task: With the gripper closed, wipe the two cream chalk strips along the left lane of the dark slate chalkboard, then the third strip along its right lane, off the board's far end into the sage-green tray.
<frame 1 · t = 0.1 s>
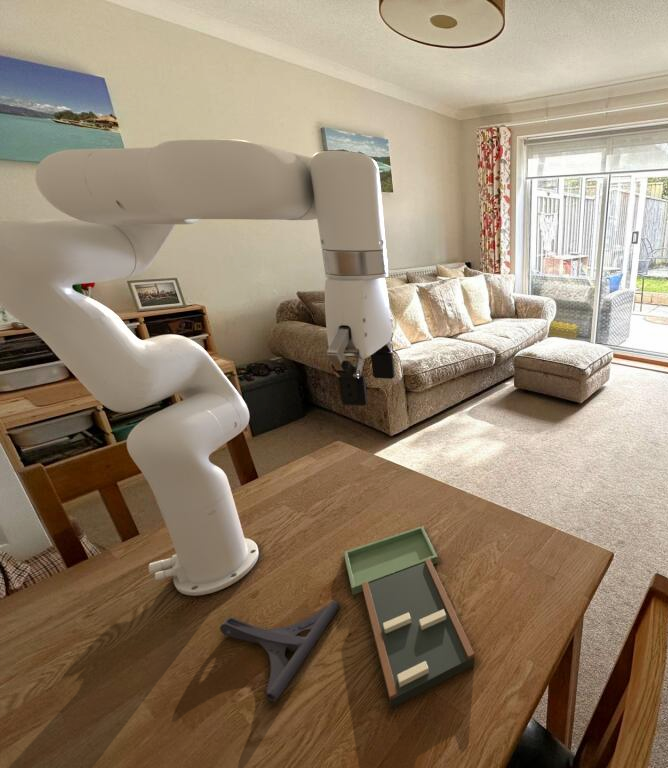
hand: (370, 389, 57), 37 cm above the table, tool pointing down, fingers open, 9 cm apart
chalk a: (413, 676, 55), point 2 cm above the table, touching chalkboard
bracket: (269, 641, 61), on the table
chalkboard: (414, 626, 64), on the table
tray: (391, 560, 76), on the table
chalk c: (432, 621, 63), point 2 cm above the table, touching chalkboard
chalk b: (397, 625, 62), point 2 cm above the table, touching chalkboard
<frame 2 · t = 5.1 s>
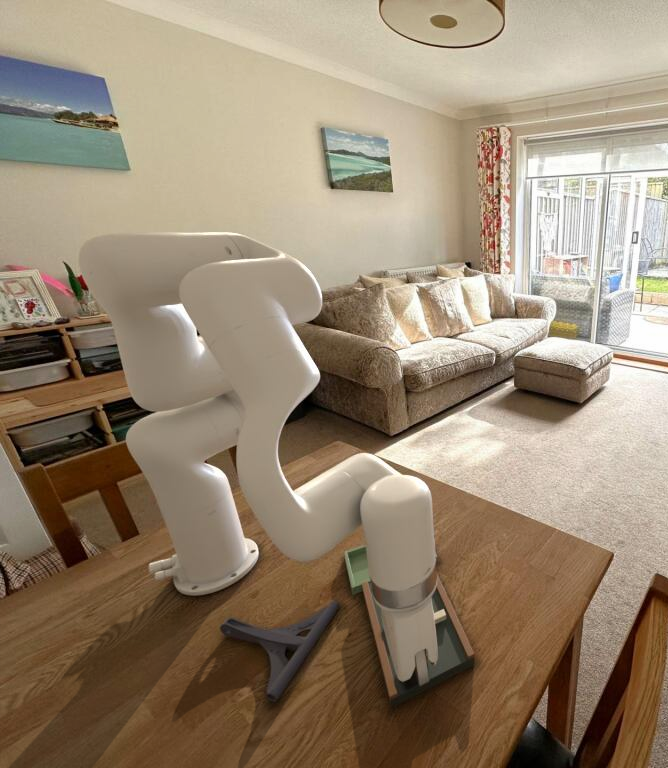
hand: (415, 677, 54), 2 cm above the table, tool pointing down, fingers closed
chalk a: (412, 668, 56), point 2 cm above the table, touching gripper
everything else where it was.
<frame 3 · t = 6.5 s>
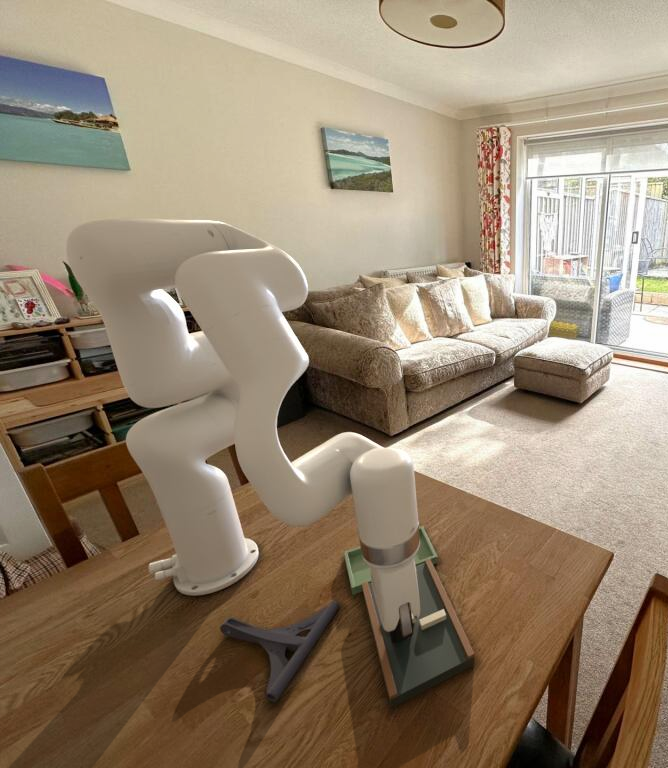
hand: (401, 634, 60), 2 cm above the table, tool pointing down, fingers closed
chalk a: (401, 624, 62), point 2 cm above the table, touching chalk b, chalkboard, gripper
chalk b: (395, 619, 63), point 2 cm above the table, touching chalk a
everything else where it was.
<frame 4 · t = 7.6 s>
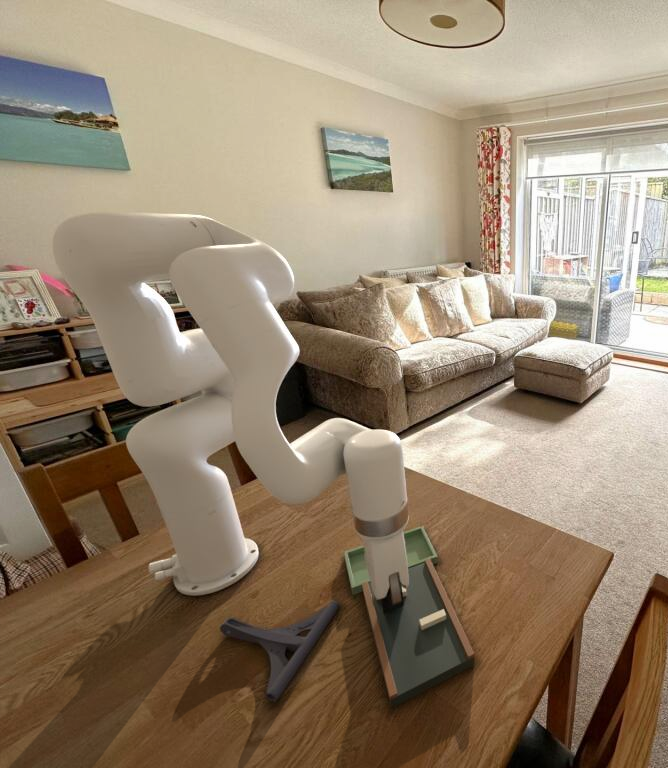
hand: (392, 605, 65), 2 cm above the table, tool pointing down, fingers closed
chalk a: (393, 597, 66), point 2 cm above the table, touching chalk b, chalkboard, gripper
chalk b: (388, 593, 67), point 2 cm above the table, touching chalk a, chalkboard
everything else where it was.
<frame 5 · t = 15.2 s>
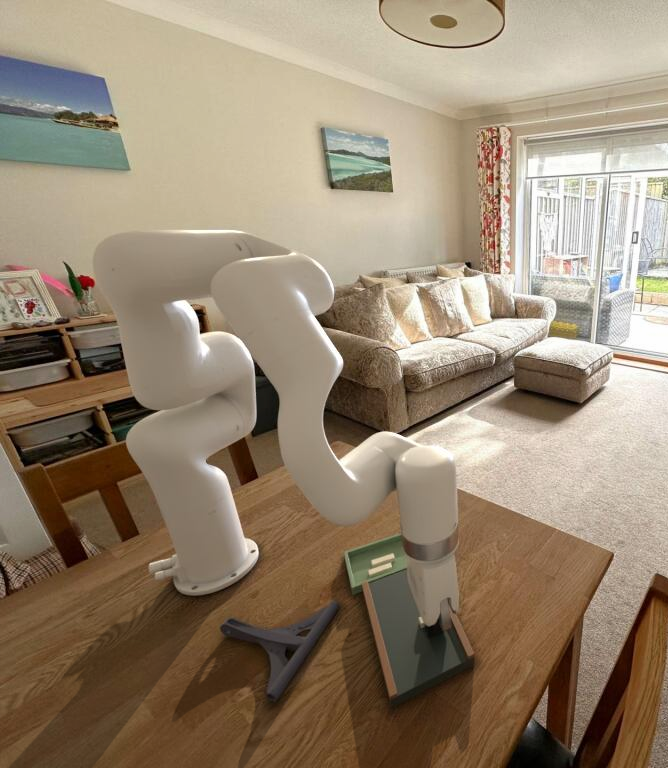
hand: (436, 629, 61), 2 cm above the table, tool pointing down, fingers closed
chalk a: (382, 558, 74), point 1 cm above the table, tilted 180°, touching tray
chalk c: (432, 619, 63), point 2 cm above the table, touching gripper
chalk b: (380, 568, 72), point 1 cm above the table, tilted 180°, touching tray
everything else where it was.
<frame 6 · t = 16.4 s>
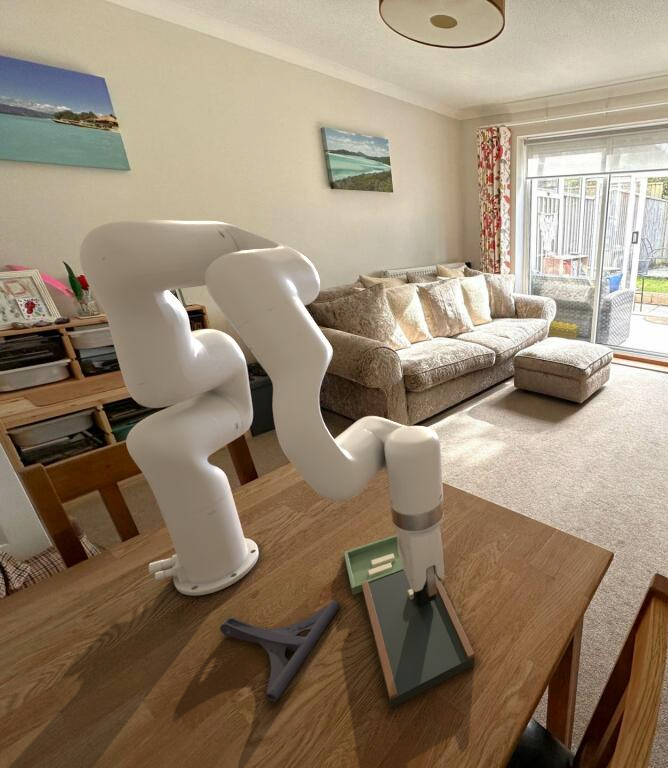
hand: (425, 599, 66), 2 cm above the table, tool pointing down, fingers closed
chalk c: (420, 591, 68), point 2 cm above the table, touching chalkboard
everything else where it was.
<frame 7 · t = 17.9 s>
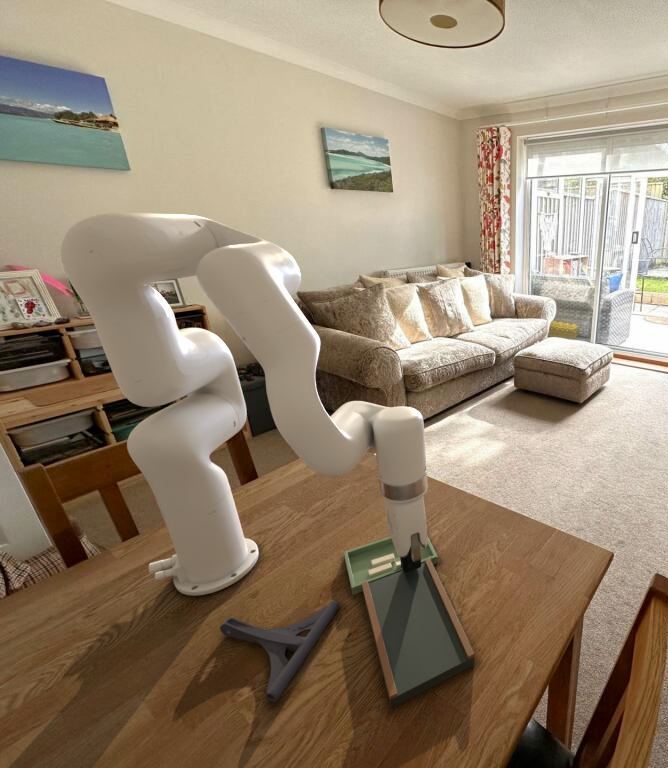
hand: (411, 567, 72), 2 cm above the table, tool pointing down, fingers closed
chalk c: (407, 565, 73), point 1 cm above the table, tilted 93°, touching tray
everything else where it was.
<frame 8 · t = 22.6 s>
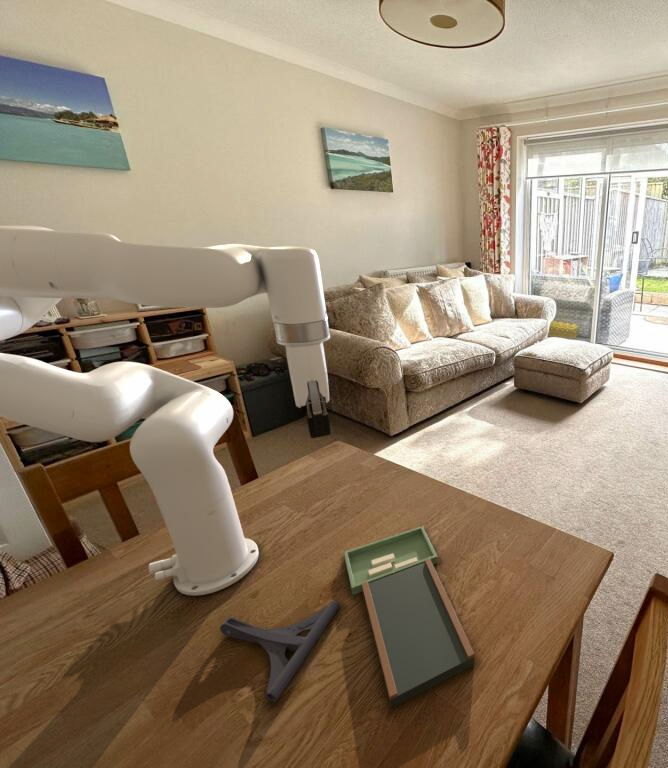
hand: (320, 434, 69), 25 cm above the table, tool pointing down, fingers closed
nothing on the table moved.
at the end: chalk a inside the target area in the tray (1.5 cm from its centre), point 1.4 cm above the tray's base; chalk b inside the target area in the tray (3.4 cm from its centre), point 1.4 cm above the tray's base; chalk c inside the target area in the tray (4.4 cm from its centre), point 1.0 cm above the tray's base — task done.
